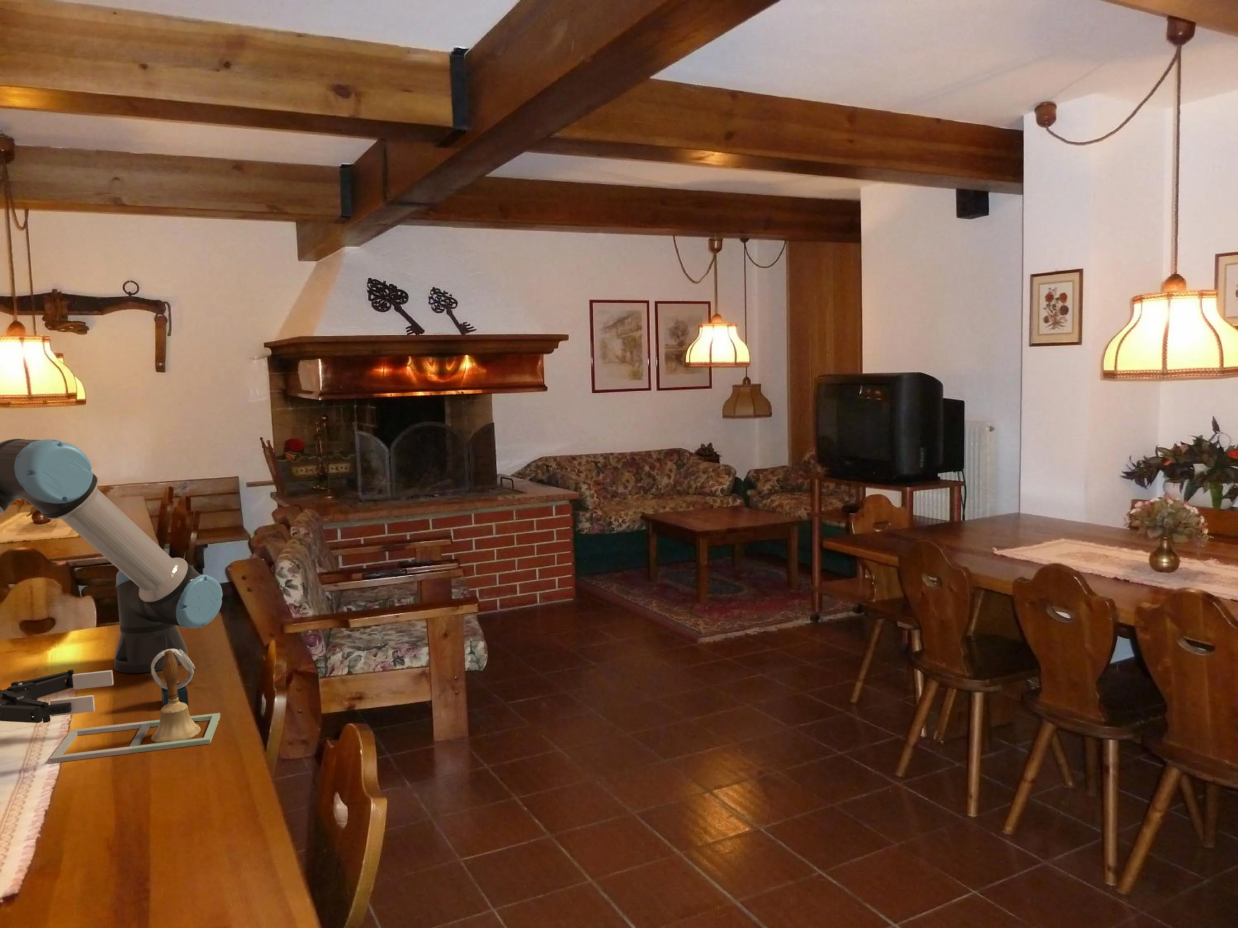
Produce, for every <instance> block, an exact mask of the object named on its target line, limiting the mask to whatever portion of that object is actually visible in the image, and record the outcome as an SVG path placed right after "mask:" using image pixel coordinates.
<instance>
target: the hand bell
mask: <svg viewBox="0 0 1238 928" xmlns="http://www.w3.org/2000/svg"><path fill="white" fill-rule="evenodd" d="M161 671H162V675H163V678H164V680H165V683H166V685H167V689H168V704H167V705H165V706H163V707H161V709H160V718H159V720H160V723H159V726H157V728H156V730H155V731H154V732H153V733H152V735H151V737H150V739H151V741H152V742H153V743H164V742H172V741H180V740H189V739H194V737H196V735H197V736H198V735H199V734H200V732H201V730H202V729H201V727H200V725H199V724H197V723H196V722H193V721H192V719H191V717H190V716H191V715H190V712H189V707H188V706H189V705H187V704H185V703H182V702H179V698H178V694H177V686H176V684H177V683H178V682H177V681H178V676H179V665H178V664H177V661H176V658H175V656H174V654H173V652H172V651H171V650H168V651H165V654H164V658H163V663H162V670H161Z"/></svg>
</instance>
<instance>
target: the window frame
mask: <svg viewBox="0 0 1238 928" xmlns="http://www.w3.org/2000/svg"><path fill="white" fill-rule="evenodd" d="M190 717H191V719H192V721H193V722H194V723H196V722H195V721H199V722H207V721H209V723H208V726H207V729H206V731H205V734H204V736H203V737H198V738H191V739H188V740H180V741H172V742H164V743H156V742H154V743H150V744H149V743H148V744H142V741H143V740H144V738H145V737H146V735H147V733H148V732H149V729H150V728H153V727H158V726H159V723H160V719H156V720H147V721H138V722H127V723H121V724H120V723H118V724H109V725H102V726H95V727H86V728H85V727H84V728H83V727H82V728H75V729H71V730H70V731H69V733H68V734H67V735H66V736H65V737H64V739H63V740H62V742H61V743H60V744H59V746H58V747H57V748H56V750H55V751H54V752H53V753H52V755H51V756H50V757H49V763H50V762H56V761H57V762H56V763H63V762H71V761H79V760H87V759H94V758H97V759H98V758H104V757H112V756H119V755H127V754H135V753H136V754H137V753H143V752H144V753H145V752H152V751H160V750H162V751H163V750H169V749H176V748H184V747H194V746H202V745H203V746H204V745H211V743H212V739H213V737H214V734H215V733H216V730H217V726H218V724H219V722H220V719H221V712H216V713H215V712H214V713H208V714H207V713H206V714H199V715H198V714H197V715H190ZM218 721H219V722H218ZM135 729H136V730H138V731H137V733H136V735H135V736H134V737H133V739H132V741H131V743H130V744H129V746H125V747H124V746H123V747H117V748H116V747H115V748H107V749H100V750H92V751H91V750H90V751H89V750H88V751H81V752H74V753H66V752H67V750H68V749H69V748H70V746H71V745H72V744H73V742H74V741H75V739H76V738H77V737H78V736H85V735H93V734H101V733H110V732H119V731H128V730H135Z"/></svg>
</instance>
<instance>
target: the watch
mask: <svg viewBox="0 0 1238 928" xmlns="http://www.w3.org/2000/svg"><path fill="white" fill-rule="evenodd" d="M168 650H171V651H172V652H173V653H174V654H175V655H176V657H177V659H178V660H179V661H180V663H181V664H180V665H181V666H182V667H183V668H184V669H185V670H186V671H187V672H189V674H188V675H187V677H186V678H185V679H184V680H183V681H181V682H176V686H177V694H178V698H179V702H182V703H185V704H187V706H189V697H188V696H189V695H188V688H187V685H188V684H189V683H190V682H191V681H192V679H193V676H194V674H195V673H194V669H196V666H195V664H194V663H193V661H192V659H191V658H190V657H189V656H187V655H186V654H185V653H184V652H183V651H182V650H181V649H180V650H177V649H167V650H164V651H162V652H160V653H159V654H158V655H157V656H156V657H155V658H154V659H153V661H152V664H151V672H150V673H151V676H152V679H153V680H154V682H155V683H156V684H157V685H158V686H159V688H160V691H161V693H160V694H161V703H162V706H163V707H164V706H165V705H167V704H168V689H167V684H165V682H164V681H163V680H162V679H161V678H160V677H159V676H158V673H157V671H155V669H154V665H155V663H156V662H157V661H158V659H160V658H161V657H162V656H164V654H165V651H168Z"/></svg>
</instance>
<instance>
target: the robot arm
mask: <svg viewBox="0 0 1238 928" xmlns="http://www.w3.org/2000/svg"><path fill="white" fill-rule="evenodd" d="M92 469H93V466H92V463H91V460H90V459H89V458H88V456H87V454H86V453H85V452H84V451H83V450H82V449H80V448H79V447H78V446H76V445H73V444H72V443H70V442H69V443H68V442H65V441H61V440H59V439H51V438H49V439H46V438H45V439H24V438H12V439H7V440H4V441H0V516H1V515H3V514H4V513H5V512H6V510H8V507H10V506H11V505H12V504H13V503H14V502H16V501H17V500H25V501H26V502H28V503H29V504H31V506H32V507H34V508H35V509H36V510H37V511H39V513H41V514H42V516H45V517H46V518H47V519H49V520H62V521H63V522H64V523H65V524H66V525H67V526H69V527H70V528H71V529H72V530H73V531H74V532H75V533H76V534H78V535H79V536H80V537H81V538H82V539H83V540H84V541H86V542H87V543H88V544H89V545H90V546H91V547H93V548H94V549H95V550H96V551H97V552H98V553H99V554H101V556H103V557H104V558H105V559H106V560H107V561H109V563H110V564H112V565H113V566H114V567H116V568H117V569H118V571H117V573H116V576H115V577H116V579H115V589H116V595H117V596H116V597H117V608H118V609H117V610H118V618H119V629H120V630H119V632H120V634H119V639H118V641H117V646H116V649H115V653H114V658H113V665H114V671H116V672H119V673H123V674H124V673H125V674H143V673H151V664H152V661H153V659H154V658H155V657H156V656H157V655H158V654H159V653H160V652H162V651H164V650H167V649H177V650H180V649H181V650H182V651H183V652H184V653H185V654H186V655H187V656H188V654H189V653H188V647H187V645H186V643H185V641H184V639H183V637H182V634H181V632H180V630H179V627H181V628H184V629H200V628H202V627H205V626H207V625H208V624H210V623H211V622H212V621H213V620H214V619H215V617H216V616H217V615H218V614H219V611H220V609H221V607H222V604H223V600H222V599H223V589H222V586H221V583H220V582H219V581H218V580H217V579H216V578H215V577H212V576H211V575H209V574H201V573H199V572H198V571H197V570H196V569H195V568H194V567H193V566H192V565H191V564H189V563H188V562H187V561H186V560H185V559H184V558H182V557H171V556H170V555H169V554H168V553H167V552H166V551H165V550H164V549H162V548H161V546H159V545H158V543H156V542H155V541H154V540H153V539H152V538H151V537H150V536H149V535H148V534H146V533H145V532H144V531H143V529H141V528H140V527H139V526H138V525H137V524H136V523H135V522H134V521H133V520H131V519H130V518H129V517H128V516H127V515H126V514H125V513H124V512H123V511H122V510H121V509H120V508H119V507H117V505H116V504H114V502H112V501H111V500H110V499H109V498H108V497H107V496H106V495H105V494H104V493H103V492H101V491H100V489H98V487H99V478H98V477H97V475H96V474H94V472H92ZM173 654H174V653H173ZM174 656H175V658H176V661H177V664H178V666H179V665H182V664H181V663H180V661H179V660H178V659H177V657H176V655H175V654H174ZM188 657H189V656H188ZM163 658H164V656H162V657H161V658H160V659H158V661H157V662H156V663H155V665H154V669H155V672H157V671H162V663H163ZM74 671H75V670H74V669H68V671H67V670H66V671H63V672H59V673H55V674H49V675H45V676H40V677H36V678H32V679H27V680H20V681H13V682H11V683H10V686H8V687H7V688H5V689H0V722H10V723H11V722H12V723H25V724H27V723H29V724H30V723H31V724H39V723H41V722H42V724H46V723H50V722H51V717H57V716H59V717H60V716H66V715H75V714H76V715H77V714H83V713H91V712H92V713H93V712H95V711H96V706H95V705H96V704H95V697H94V696H95V695H94V694H90V695H82V696H75V697H74V696H72V697H65V698H64V697H63V698H55V699H54V698H53V699H51V700H50V701H42V700H38V699H39V698H43V697H46V696H50V695H53V694H57V693H59V692H63V691H66V690H69V689H73V690H74V691H75V690H81V689H91V688H101V687H110V686H113V685H114V675H113V670H112V669H110V670H109V669H108V670H100V671H92V672H82V673H75V672H74Z"/></svg>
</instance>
